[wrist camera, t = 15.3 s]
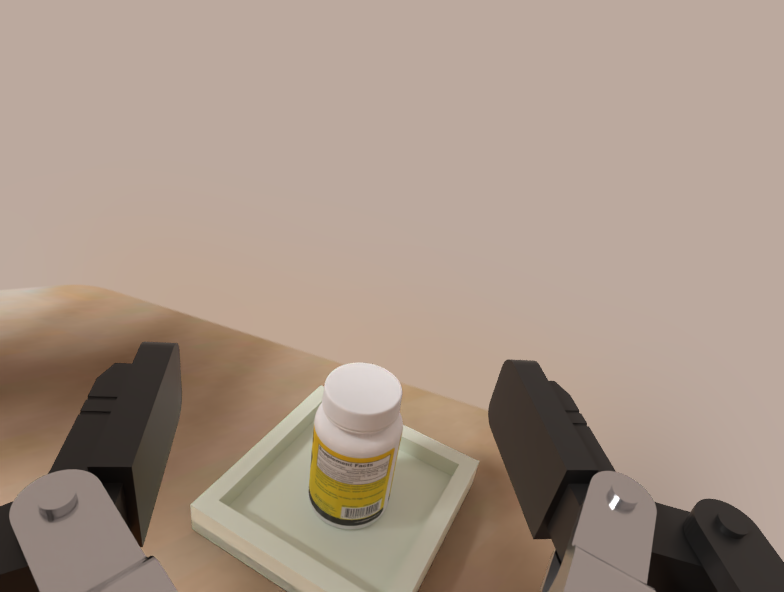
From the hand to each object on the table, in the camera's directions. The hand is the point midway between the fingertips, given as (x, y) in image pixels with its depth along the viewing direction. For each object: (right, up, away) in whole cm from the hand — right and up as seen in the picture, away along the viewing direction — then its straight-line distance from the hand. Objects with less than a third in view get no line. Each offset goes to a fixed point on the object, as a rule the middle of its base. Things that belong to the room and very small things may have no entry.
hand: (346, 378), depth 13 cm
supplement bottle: (-1, -10, +18) cm, 20 cm away
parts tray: (-2, -10, +18) cm, 21 cm away
